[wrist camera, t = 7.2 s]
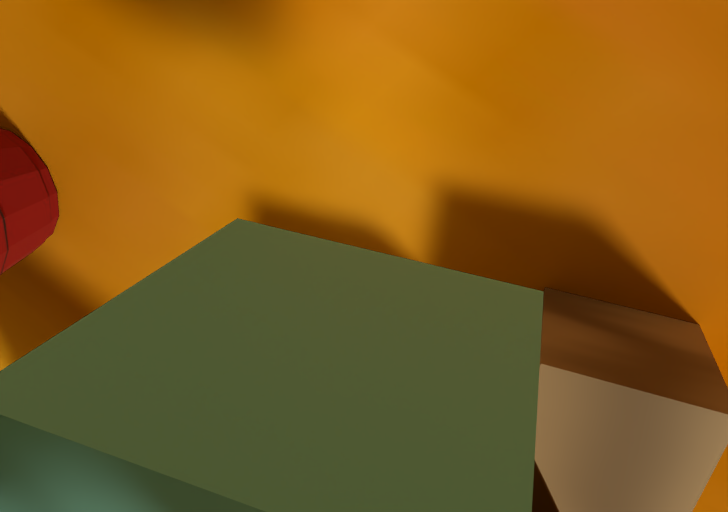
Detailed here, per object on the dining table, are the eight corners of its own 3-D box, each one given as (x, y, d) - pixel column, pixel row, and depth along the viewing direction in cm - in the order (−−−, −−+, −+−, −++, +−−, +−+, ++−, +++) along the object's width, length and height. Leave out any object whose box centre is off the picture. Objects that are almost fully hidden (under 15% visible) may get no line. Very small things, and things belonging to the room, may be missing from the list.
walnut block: (512, 398, 22) (500, 494, 18) (544, 286, 20) (540, 363, 15) (648, 437, 21) (671, 550, 16) (698, 323, 19) (741, 418, 14)
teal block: (233, 444, 12) (33, 709, 7) (237, 218, 9) (-42, 398, 5) (475, 527, 10) (414, 903, 6) (543, 291, 8) (526, 605, 4)
